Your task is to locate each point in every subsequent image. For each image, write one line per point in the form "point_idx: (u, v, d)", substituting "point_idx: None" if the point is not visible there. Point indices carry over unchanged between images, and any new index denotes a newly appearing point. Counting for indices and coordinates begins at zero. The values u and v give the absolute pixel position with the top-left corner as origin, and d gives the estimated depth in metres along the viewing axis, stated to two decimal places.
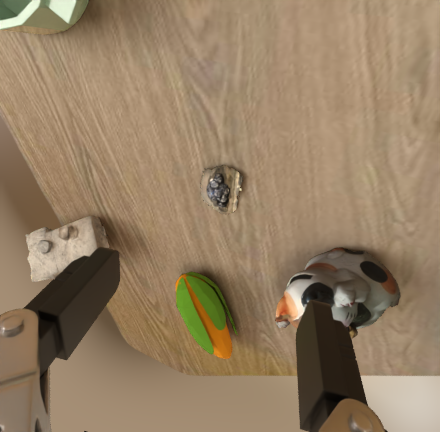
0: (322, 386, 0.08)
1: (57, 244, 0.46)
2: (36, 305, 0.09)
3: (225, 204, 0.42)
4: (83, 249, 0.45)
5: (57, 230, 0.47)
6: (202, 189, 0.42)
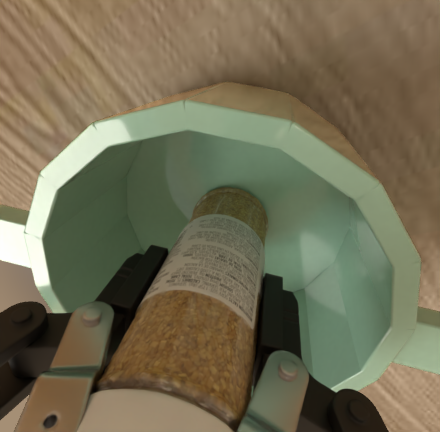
0: (261, 340, 0.09)
1: None
2: (104, 299, 0.10)
3: None
4: None
5: None
6: None
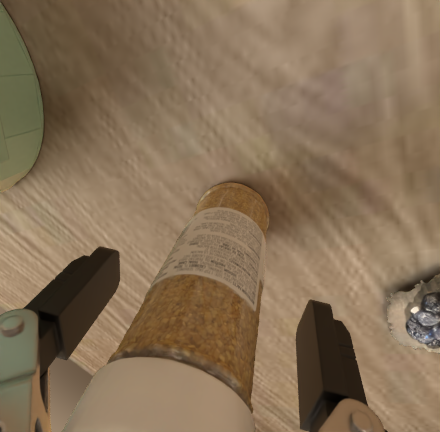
0: (322, 386, 0.08)
1: None
2: (36, 305, 0.09)
3: None
4: None
5: None
6: (394, 328, 0.19)
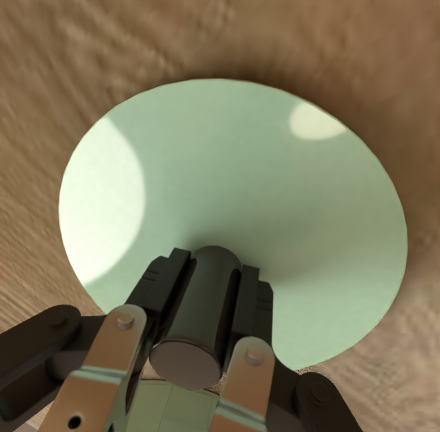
0: (231, 327, 0.09)
1: None
2: (133, 302, 0.10)
3: None
4: None
5: None
6: None
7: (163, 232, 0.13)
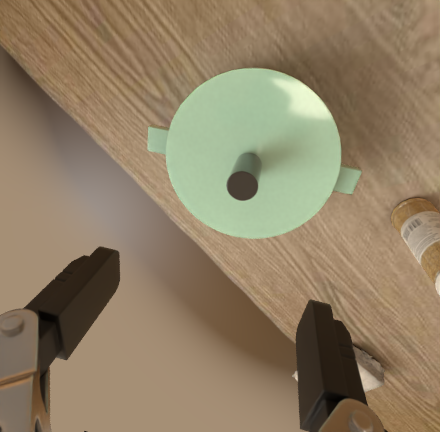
0: (322, 386, 0.08)
1: None
2: (36, 305, 0.09)
3: None
4: (365, 384, 0.44)
5: None
6: None
7: (222, 146, 0.26)
